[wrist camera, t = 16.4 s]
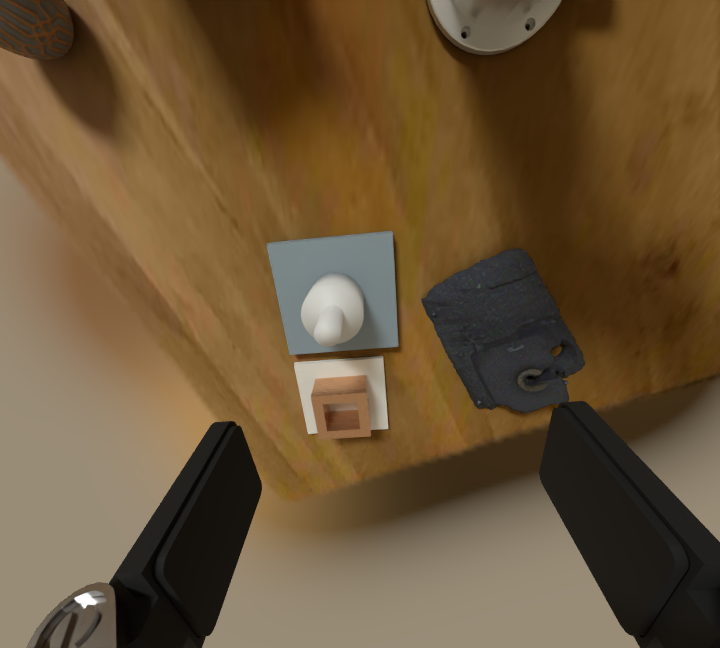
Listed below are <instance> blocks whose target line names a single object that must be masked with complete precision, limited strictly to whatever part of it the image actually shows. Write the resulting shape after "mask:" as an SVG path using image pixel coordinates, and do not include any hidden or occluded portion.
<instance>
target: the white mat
mask: <svg viewBox="0 0 720 648" xmlns="http://www.w3.org/2000/svg"><path fill="white" fill-rule="evenodd" d="M294 367H295V372H296V377H297V382H298V387H299V392H300V396H301V401H302V406H303V411H304V416H305V421H306V426H307V430H308V434H315V433H318V432H317V427H316V422H315V417H314V412H313V406H312V401H311V393H312V390H313V386H314V382H315V379H318V378H332V377H345V376H359V375H366V377H367V386H368V396H369V406H370V415H371V430H379V429H388V416H387V403H386V389H385V375H384V361H383V356H374V357H361V358H347V359H334V360H321V361H307V362H295V363H294ZM329 406H330V411H345V410H358V406H357V402H349V403H334V404H329Z"/></svg>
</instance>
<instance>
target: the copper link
mask: <svg viewBox="0 0 720 648" xmlns="http://www.w3.org/2000/svg"><path fill="white" fill-rule="evenodd" d="M311 401H312V406H313V412H314V417H315V422H316V427H317V432H318V437H319V440H321V439H336V438H352V437H368V436H371V415H370V406H369V396H368V386H367V377H366V375H359V376H345V377H332V378H318V379H315V382H314V386H313V390H312V393H311ZM349 402H357V406H358V410H345V411H330V406H329V404H334V403H349Z"/></svg>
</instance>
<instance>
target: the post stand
mask: <svg viewBox="0 0 720 648" xmlns="http://www.w3.org/2000/svg"><path fill="white" fill-rule="evenodd" d="M267 249H268V254H269V259H270V263H271V268H272V273H273V278H274V282H275V287H276V292H277V297H278V302H279V306H280V311H281V316H282V321H283V325H284V330H285V335H286V340H287V344H288V349H289V354H290V355H295V354H308V353H321V352H335V351H348V350H361V349H374V348H387V347H398V328H397V308H396V287H395V267H394V247H393V232H392V231H385V232H374V233H364V234H353V235H343V236H332V237H322V238H311V239H301V240H290V241H280V242H270V243H268V244H267Z"/></svg>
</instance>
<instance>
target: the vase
mask: <svg viewBox="0 0 720 648" xmlns="http://www.w3.org/2000/svg"><path fill="white" fill-rule="evenodd" d="M73 39H74V27H73V21H72V18H71V15H70V12H69V10H68V8H67V5H66V3H65V2H64V0H0V47H1V48H3V49H5V50H8V51H10V52H12V53H15V54H18V55H21V56H24V57H27V58H31V59H38V60H52V59H57V58H60V57H62V56H63V55H65V54H66V53H67V52H68V51H69V49H70V48H71V46H72V43H73Z"/></svg>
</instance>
